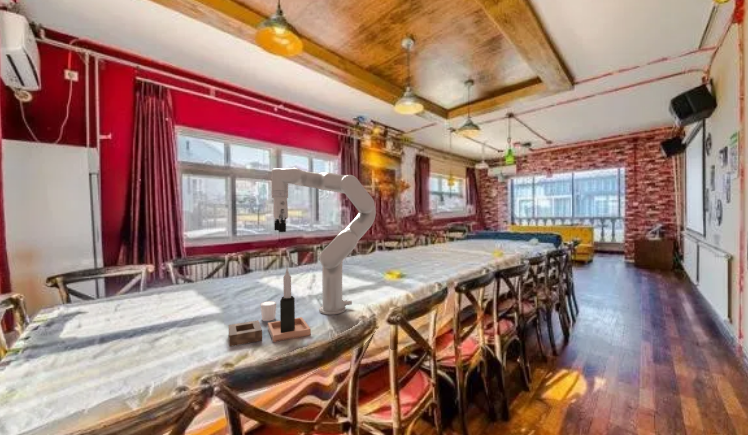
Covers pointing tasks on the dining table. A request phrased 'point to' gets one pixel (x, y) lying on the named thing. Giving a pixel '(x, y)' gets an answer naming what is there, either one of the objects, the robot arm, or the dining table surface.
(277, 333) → the tray
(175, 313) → the dining table surface
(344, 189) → the robot arm
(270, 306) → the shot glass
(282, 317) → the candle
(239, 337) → the block
